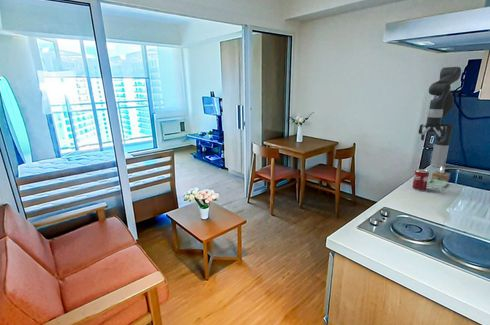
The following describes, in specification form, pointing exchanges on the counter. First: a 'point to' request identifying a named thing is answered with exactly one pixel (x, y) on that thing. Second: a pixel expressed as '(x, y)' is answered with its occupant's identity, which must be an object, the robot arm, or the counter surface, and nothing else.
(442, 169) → the lock pin
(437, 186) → the tray
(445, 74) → the robot arm
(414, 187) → the soda can
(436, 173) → the tan and green block
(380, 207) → the counter surface
